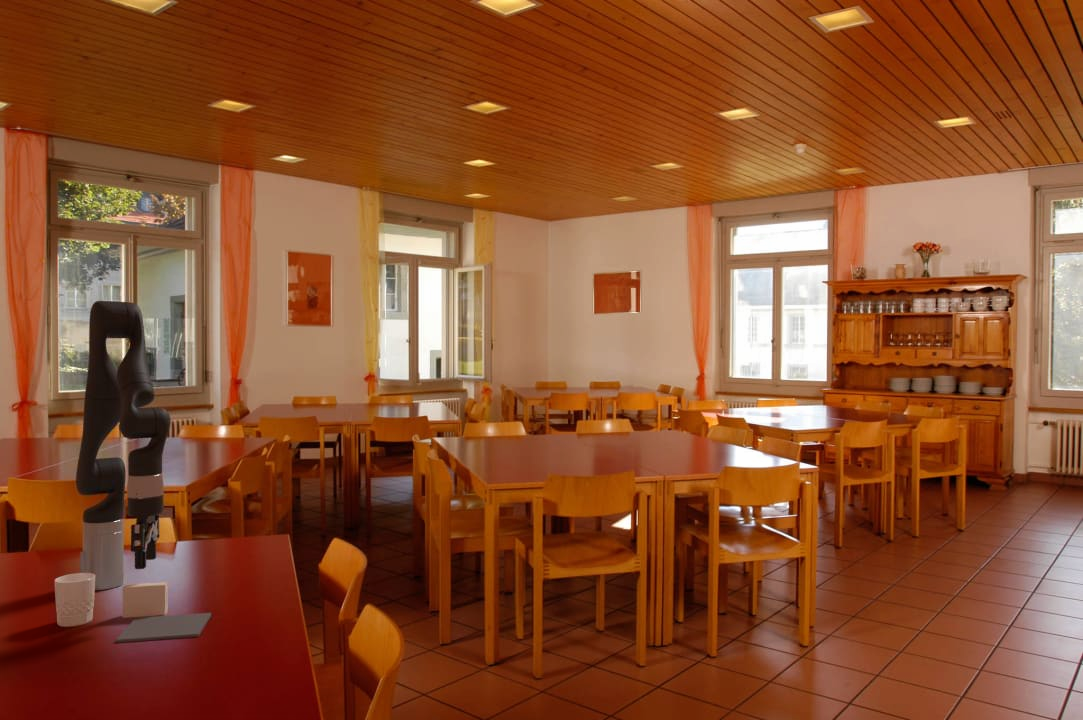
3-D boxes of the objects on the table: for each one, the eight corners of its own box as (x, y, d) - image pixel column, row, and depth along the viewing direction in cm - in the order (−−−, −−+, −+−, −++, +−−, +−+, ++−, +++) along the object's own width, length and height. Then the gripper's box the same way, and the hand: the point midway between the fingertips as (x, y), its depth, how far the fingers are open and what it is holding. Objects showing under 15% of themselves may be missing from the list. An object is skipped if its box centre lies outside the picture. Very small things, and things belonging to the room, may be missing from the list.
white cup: (103, 618, 175) (103, 574, 175) (72, 629, 168) (72, 584, 168) (77, 614, 178) (77, 571, 178) (45, 625, 170) (45, 580, 170)
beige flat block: (122, 618, 176) (122, 587, 176) (125, 614, 178) (125, 584, 178) (165, 615, 178) (165, 584, 178) (167, 611, 180) (167, 581, 180)
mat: (116, 642, 160) (116, 639, 160) (135, 620, 174) (135, 617, 174) (198, 636, 164) (198, 633, 164) (211, 615, 177) (211, 612, 177)
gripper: (136, 489, 184) (136, 557, 184) (118, 499, 170) (118, 573, 170) (170, 488, 186) (170, 555, 186) (154, 498, 172) (155, 570, 172)
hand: (145, 563), depth 178 cm, fingers open, 8 cm apart
